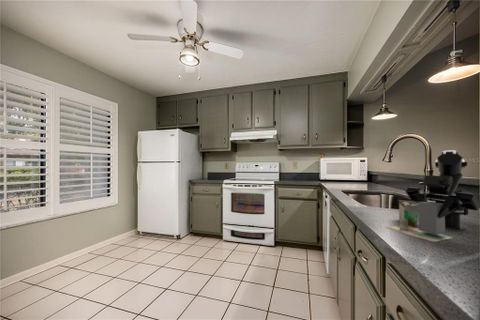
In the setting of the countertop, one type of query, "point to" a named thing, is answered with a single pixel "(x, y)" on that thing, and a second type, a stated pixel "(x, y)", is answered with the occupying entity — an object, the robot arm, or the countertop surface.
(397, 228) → the stand board
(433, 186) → the robot arm
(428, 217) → the tall gray pillar
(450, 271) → the countertop surface
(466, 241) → the countertop surface
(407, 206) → the food container
